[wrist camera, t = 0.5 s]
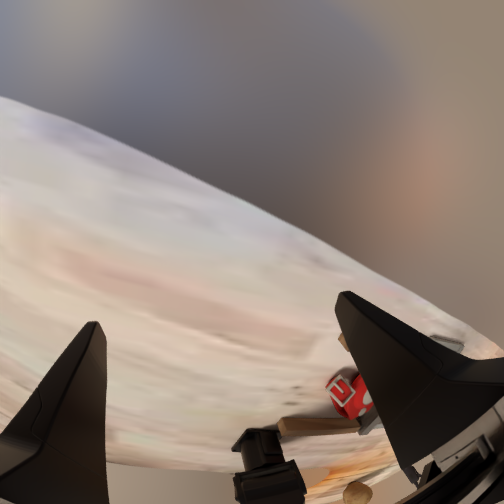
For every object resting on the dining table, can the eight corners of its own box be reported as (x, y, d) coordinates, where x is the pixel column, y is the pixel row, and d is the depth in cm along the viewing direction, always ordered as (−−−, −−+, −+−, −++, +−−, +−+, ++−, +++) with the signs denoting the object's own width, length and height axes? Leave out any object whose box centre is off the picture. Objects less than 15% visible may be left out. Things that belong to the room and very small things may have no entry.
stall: (350, 422, 39) (355, 432, 37) (277, 423, 35) (281, 436, 33) (412, 343, 35) (421, 352, 33) (344, 328, 31) (354, 340, 28)
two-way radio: (398, 465, 62) (416, 493, 48) (409, 457, 62) (428, 485, 48) (401, 466, 64) (418, 493, 51) (411, 459, 64) (429, 486, 50)
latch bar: (360, 422, 40) (367, 434, 37) (352, 423, 39) (359, 435, 37) (421, 345, 36) (432, 356, 33) (415, 344, 35) (426, 355, 32)
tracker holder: (396, 361, 34) (380, 413, 35) (375, 351, 38) (362, 402, 39) (338, 386, 29) (324, 443, 30) (316, 371, 33) (305, 427, 34)
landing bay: (401, 421, 46) (403, 424, 45) (359, 427, 41) (361, 430, 40) (461, 343, 40) (464, 346, 40) (430, 336, 36) (434, 339, 35)
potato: (359, 483, 59) (371, 504, 50) (335, 492, 58) (345, 515, 49) (367, 473, 56) (380, 496, 47) (341, 483, 55) (353, 508, 45)
